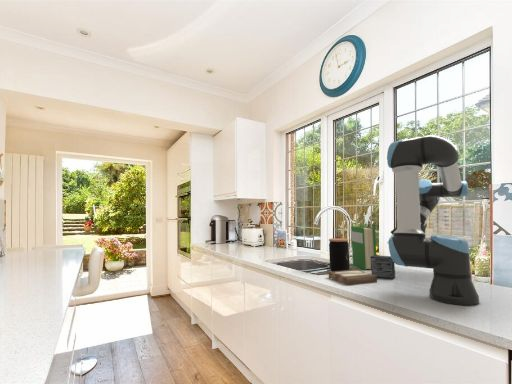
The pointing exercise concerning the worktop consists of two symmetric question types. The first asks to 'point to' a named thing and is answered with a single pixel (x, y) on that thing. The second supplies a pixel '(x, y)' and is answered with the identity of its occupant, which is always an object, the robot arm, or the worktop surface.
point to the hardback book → (363, 246)
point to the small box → (382, 267)
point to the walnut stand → (352, 277)
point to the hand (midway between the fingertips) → (398, 245)
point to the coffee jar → (339, 254)
